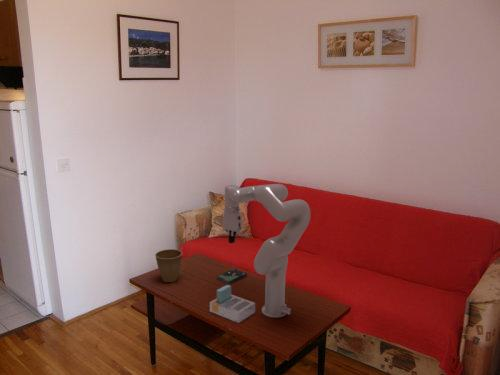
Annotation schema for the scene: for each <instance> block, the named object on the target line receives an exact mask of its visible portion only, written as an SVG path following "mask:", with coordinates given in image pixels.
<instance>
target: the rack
mask: <svg viewBox="0 0 500 375" xmlns="http://www.w3.org/2000/svg"><path fill="white" fill-rule="evenodd" d="M209 312H210V313H213V314H214V315H215V314H216V315H218V316H220V317H222V318H225V319H228V320H230V321H232V322H236V323H238V324H240V323H241V322H243V321H245V320H246V319H247V318H249V317H251V316H252V315H254V314H255V313H256V302H254V301H252V300H251V301H250V300H248V299H245V298H243V297H239V296H237V295H233V294H231V299H229V300H227V301H225V302H224V303H222V304H220V303H217V297H216V298H215V299H213V300H211V301H209Z"/></svg>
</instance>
